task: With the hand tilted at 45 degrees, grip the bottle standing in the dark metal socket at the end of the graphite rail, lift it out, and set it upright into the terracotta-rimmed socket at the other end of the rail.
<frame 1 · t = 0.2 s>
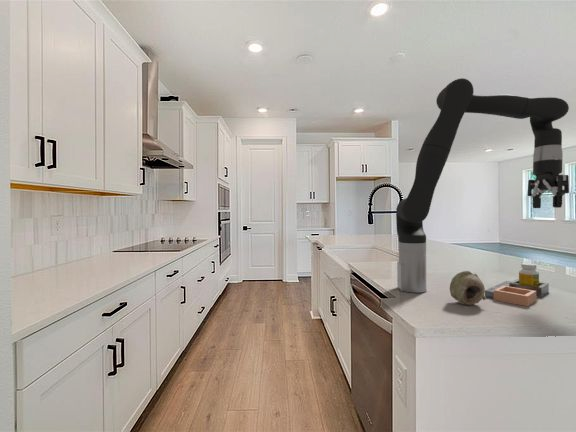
hand: (546, 207, 100), 29 cm above the countertop, tool pointing down, fingers open, 8 cm apart
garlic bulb: (467, 304, 90), on the countertop
rail: (522, 295, 97), on the countertop
marked socket: (514, 300, 92), on the countertop
supplement bottle: (528, 292, 101), resting in rail
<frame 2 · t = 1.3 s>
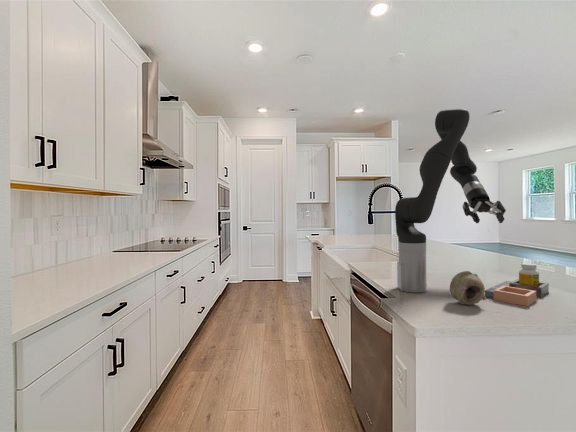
hand: (490, 221, 115), 24 cm above the countertop, tool tilted 45°, fingers open, 8 cm apart
nothing on the countertop moved.
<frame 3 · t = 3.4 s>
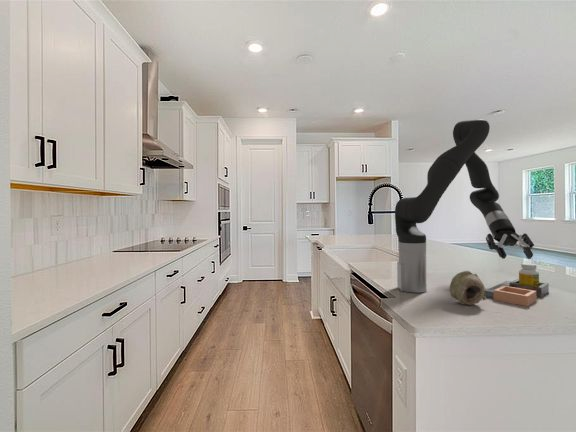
hand: (517, 257, 107), 11 cm above the countertop, tool tilted 45°, fingers open, 8 cm apart
nothing on the countertop moved.
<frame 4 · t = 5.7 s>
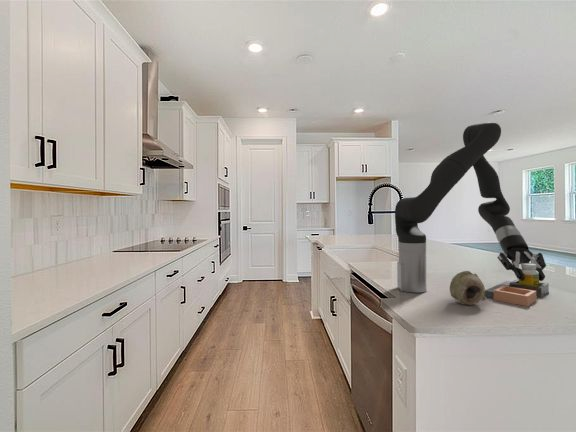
hand: (532, 279, 99), 5 cm above the countertop, tool tilted 45°, fingers closed on supplement bottle, 5 cm apart
supplement bottle: (528, 292, 101), resting in rail, touching gripper
everything else where it was.
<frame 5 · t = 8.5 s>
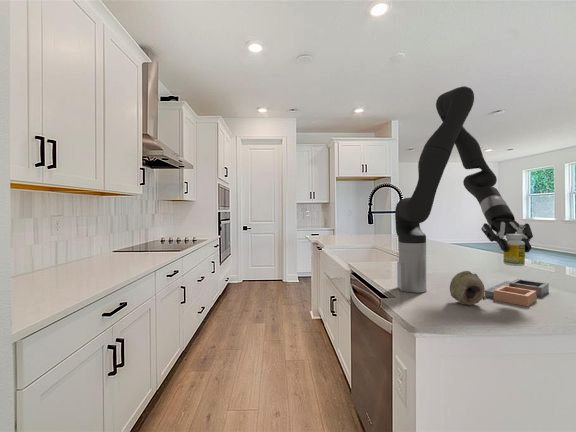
hand: (517, 250, 91), 16 cm above the countertop, tool tilted 45°, fingers closed on supplement bottle, 5 cm apart
supplement bottle: (513, 265, 92), point 11 cm above the countertop, touching gripper
everything else where it was.
when the fingers open (6 cm above the countertop, at t = 11.4 s): supplement bottle drops 1 cm, resting in marked socket.
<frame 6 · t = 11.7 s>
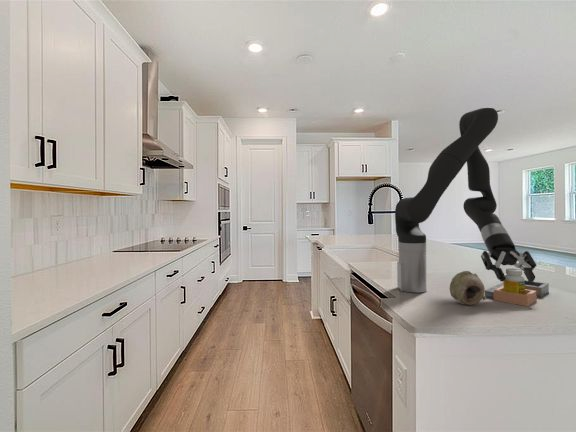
hand: (517, 280, 91), 7 cm above the countertop, tool tilted 45°, fingers open, 7 cm apart
supplement bottle: (513, 300, 93), resting in marked socket
everything else where it was.
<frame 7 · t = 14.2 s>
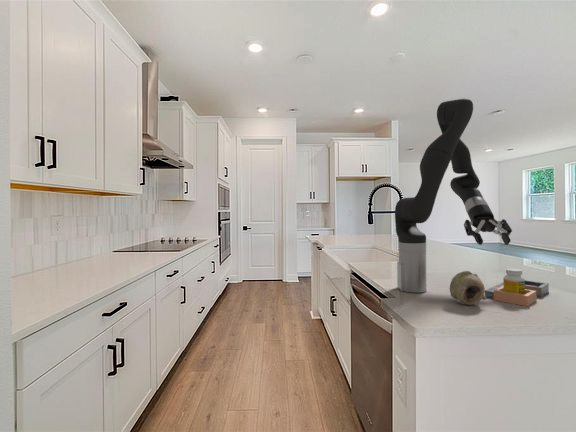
hand: (494, 243, 103), 17 cm above the countertop, tool tilted 45°, fingers open, 8 cm apart
nothing on the countertop moved.
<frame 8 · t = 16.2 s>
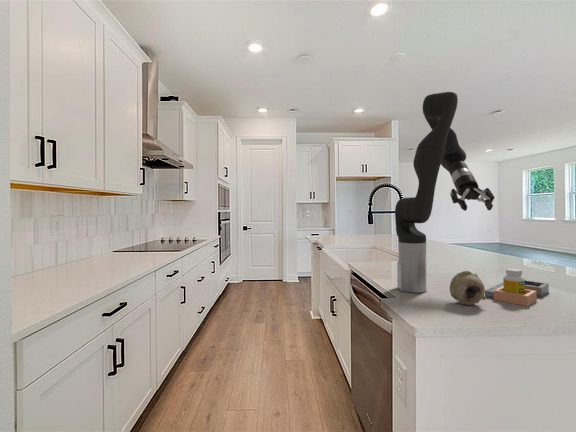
hand: (478, 209, 110), 29 cm above the countertop, tool tilted 45°, fingers open, 8 cm apart
nothing on the countertop moved.
at the end: supplement bottle 0.2 cm from the marked socket (horizontally); supplement bottle tilted 0°; the gripper is holding nothing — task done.
